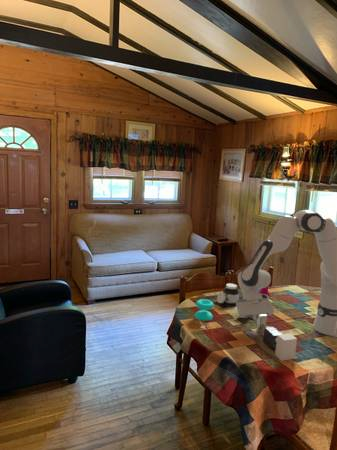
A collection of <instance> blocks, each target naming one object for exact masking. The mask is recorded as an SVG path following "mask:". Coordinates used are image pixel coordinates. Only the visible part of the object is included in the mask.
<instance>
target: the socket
mask: <svg viewBox="0 0 337 450" xmlns="http://www.w3.org/2000/svg"><path fill="white" fill-rule="evenodd" d="M297 343H298V338H297V337H296V336H295V335H293V334H292V333H282V334H281V335H277V343H276V351H275V355H276V356H277V357H278V358H279V359H280V360H281V361H280V362H283V361H288V360H289V359H290V360H296V359H295V354H296V351H297ZM282 360H283V361H282Z"/></svg>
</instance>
